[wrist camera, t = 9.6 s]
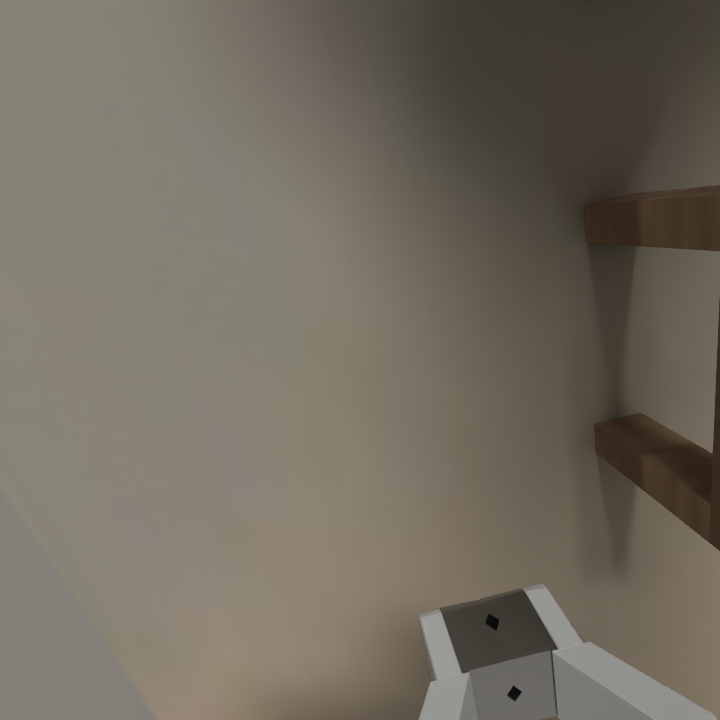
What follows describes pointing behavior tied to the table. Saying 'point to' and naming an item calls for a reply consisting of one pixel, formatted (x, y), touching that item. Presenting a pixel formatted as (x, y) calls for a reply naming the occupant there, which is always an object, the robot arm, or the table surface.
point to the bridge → (668, 449)
